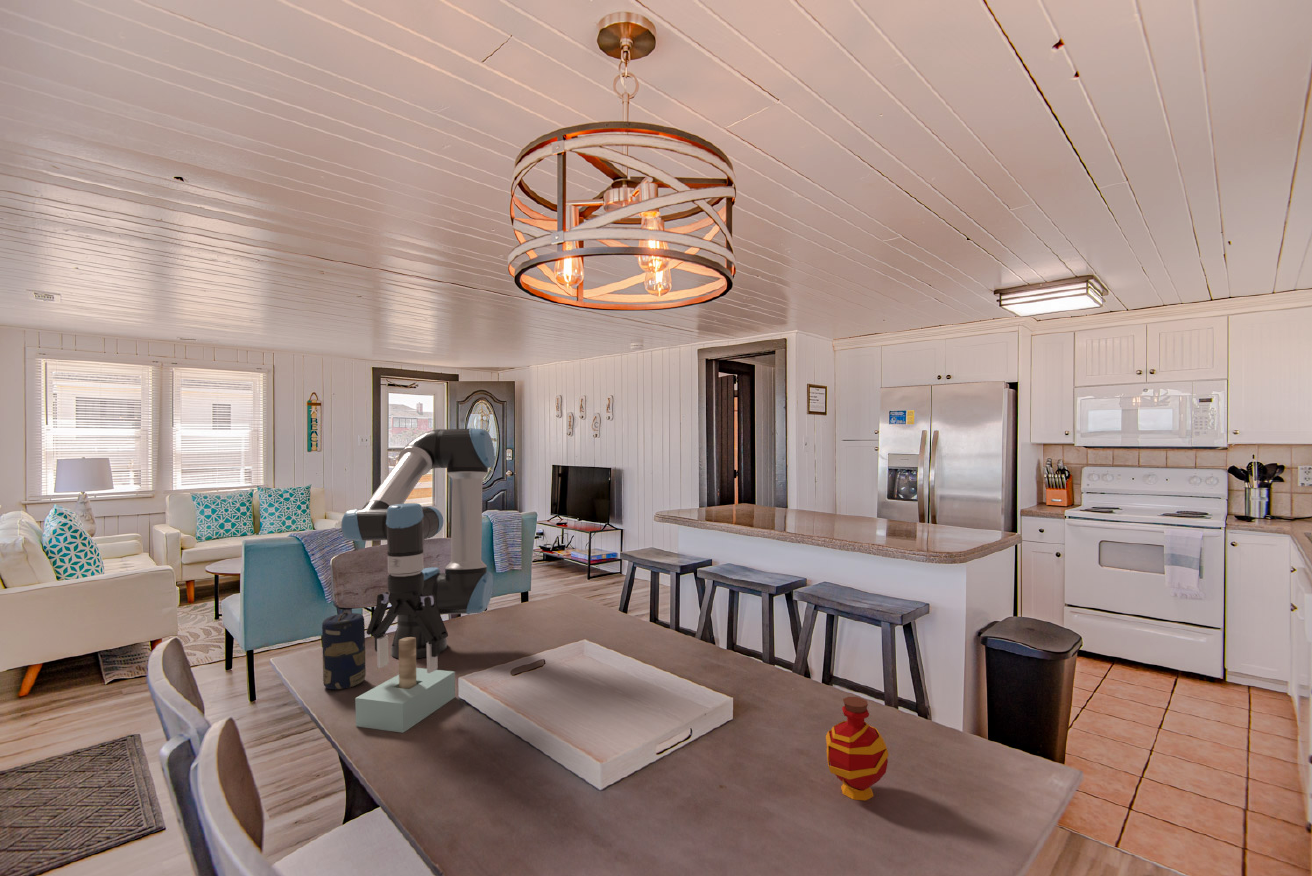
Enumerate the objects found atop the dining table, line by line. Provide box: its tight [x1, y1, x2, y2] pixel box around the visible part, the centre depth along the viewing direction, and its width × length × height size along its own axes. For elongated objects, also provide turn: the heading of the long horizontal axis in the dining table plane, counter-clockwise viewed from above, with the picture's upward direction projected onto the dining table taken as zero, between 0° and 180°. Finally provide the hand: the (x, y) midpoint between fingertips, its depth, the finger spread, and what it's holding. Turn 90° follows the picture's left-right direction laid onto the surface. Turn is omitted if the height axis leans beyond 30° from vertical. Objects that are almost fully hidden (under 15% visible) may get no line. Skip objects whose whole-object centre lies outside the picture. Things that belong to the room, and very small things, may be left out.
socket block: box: [354, 667, 456, 734], centre depth 135 cm, size 18×12×6 cm, turn 164°
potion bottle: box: [825, 696, 890, 801], centre depth 101 cm, size 10×10×15 cm
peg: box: [398, 637, 417, 689], centre depth 135 cm, size 4×4×16 cm
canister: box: [321, 611, 367, 690], centre depth 151 cm, size 10×10×18 cm
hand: (407, 668), depth 135 cm, fingers open, 12 cm apart
